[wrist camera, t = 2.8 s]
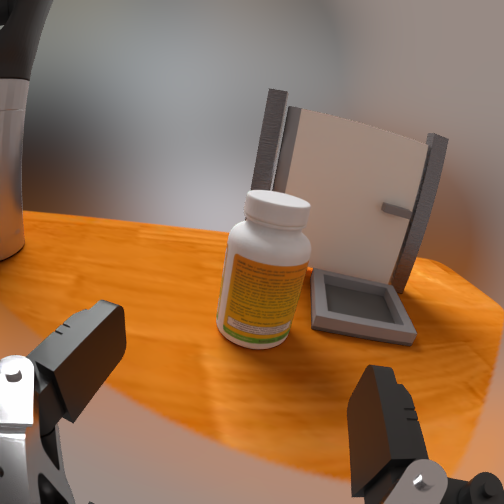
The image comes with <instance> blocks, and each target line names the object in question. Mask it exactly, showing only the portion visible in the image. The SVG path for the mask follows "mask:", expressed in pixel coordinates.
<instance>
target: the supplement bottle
mask: <svg viewBox="0 0 504 504" xmlns="http://www.w3.org/2000/svg"><path fill="white" fill-rule="evenodd" d="M310 209H311V205H310V204H309V203H308V202H307V201H305V200H303V199H300V198H298V197H295V196H292V195H288V194H284V193H280V192H274V191H267V190H251V191H249V192H248V193H247V196H246V202H245V206H244V215H245V216H246V217H247V219H246V221H243V222H240V223H238V224H236V225H235V226H234V227H233V228H232V229H231V231H230V233H229V237H228V242H227V248H226V255H225V261H224V268H223V275H222V281H221V288H220V295H219V301H218V308H217V318H216V322H217V327H218V329H219V331H220V332H221V333H222V334H223V336H225V337H226V338H227V339H228V340H230V341H231V342H233V343H235V344H237V345H240V346H243V347H246V348H251V349H268V348H272V347H275V346H277V345H279V344H281V343H282V342H283V341H284V340H285V339H286V338H287V336H288V333H289V330H290V327H291V324H292V320H293V317H294V313H295V310H296V306H297V303H298V299H299V296H300V292H301V288H302V285H303V281H304V278H305V274H306V270H307V267H308V263H309V259H310V255H311V244H310V241H309V239H308V238H307V237H306V236H305V235H304V234H303V233H302V232H301V231H302V229H304V228H305V227H306V226H307V222H308V218H309V213H310Z"/></svg>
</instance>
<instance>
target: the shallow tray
mask: <svg viewBox="0 0 504 504" xmlns="http://www.w3.org/2000/svg"><path fill="white" fill-rule="evenodd" d="M310 283H311V328H312V329H315V330H320V331H325V332H331V333H336V334H341V335H347V336H352V337H358V338H363V339H369V340H375V341H381V342H387V343H394V344H400V345H407V346H411V345H412V343H413V341H414V339H415V337H416V335H417V332H416V330H415V328H414V326H413V324H412V322H411V320H410V318H409V316H408V314H407V312H406V310H405V308H404V306H403V304H402V302H401V300H400V298H399V297H398V295H397V293H396V291H395V289H394V287H393V285H388V284H384V283H379V282H375V281H370V280H366V279H361V278H357V277H352V276H348V275H343V274H339V273H334V272H330V271H325V270H321V269H316V268H313V272H312V275H311V279H310Z"/></svg>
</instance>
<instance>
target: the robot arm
mask: <svg viewBox="0 0 504 504" xmlns="http://www.w3.org/2000/svg"><path fill="white" fill-rule="evenodd" d="M52 2H53V0H0V26H1V25H4V27H3V28H2V29H1V30H0V260H3V259H6V258H8V257H10V256H12V255H13V254H15V253H16V252H18V251H19V250H20V249H21V248H22V247H23V245H24V242H25V238H24V228H23V214H22V174H21V173H22V143H23V128H24V118H25V107H26V99H27V93H28V86H29V81H30V75H31V70H32V65H33V62H34V59H35V55H36V52H37V48H38V44H39V40H40V36H41V33H42V30H43V27H44V24H45V21H46V18H47V15H48V13H49V10H50V7H51V5H52ZM125 350H126V331H125V317H124V309H123V307H122V306H120V305H117V304H114V303H111V302H108V301H105V300H100V301H98V302H97V303H96V304H95V305H94V306H93V307H92V308H90V309H89V310H87V309H85V310H82V311H80V312H78V313H75V314H73V315H72V316H71V317H69V318H68V319H67V320H66V321H65V322H64V323H63V325H60V326H59V327H58V328H57V329H56V330H55V332H53V333H51V334H50V335H49V336H48V337H47V338H46V339H45V340H44V341H43V342H42V343H40V344H39V345H38V346H37V347H36V348H35V349H34V350H33V351H32V352H31V353H30V354H29V355H28V356H26V357H23V356H19V355H12V356H8V357H5V358H3V359H1V360H0V504H75V500H74V497H73V494H72V491H71V488H70V486H69V484H68V482H67V479H66V476H65V471H64V465H63V458H62V451H61V444H60V435H59V427H58V424H57V423H58V421H59V420H60V419H61V418H62V417H63V418H65V419H67V420H68V421H70V422H72V423H74V422H75V420H76V419H77V418H78V416H79V415H80V414H81V412H82V411H83V410H84V408H85V407H86V405H87V404H88V403H89V401H90V400H91V399H92V397H93V396H94V395H95V393H96V392H97V391H98V389H99V388H100V387H101V385H102V384H103V383H104V381H105V380H106V379H107V377H108V376H109V375H110V373H111V372H112V371H113V369H114V368H115V367H116V366H117V364H118V363H119V362H120V360H121V359H122V357H123V355H124V353H125ZM417 420H418V417H417V413H416V411H415V407H414V403H413V400H412V397H411V395H410V394H409V392H408V391H407V390H406V388H405V387H404V386H403V385H402V384H397V382H396V378H395V375H394V372H393V369H392V368H390V367H383V366H375V365H368V366H367V367H366V369H365V371H364V373H363V375H362V377H361V379H360V380H359V382H358V384H357V386H356V388H355V390H354V392H353V393H352V395H351V397H350V400H349V403H348V407H347V421H348V434H349V448H350V466H351V491H352V497H364V500H365V504H504V490H503V486H502V484H501V482H500V480H499V479H498V478H497V477H496V476H495V475H493V474H492V473H489V472H482V473H480V474H478V475H476V476H475V477H474V478H473V479H471V480H470V481H469V482H468V481H463V480H457V479H452V478H448V477H447V475H446V473H445V471H444V469H443V468H442V467H441V466H440V465H439V464H437V463H436V462H434V461H431V460H429V458H428V454H427V450H426V446H425V442H424V438H423V435H422V431H421V427H420V424H419V421H417ZM88 504H94V503H92V502H89V503H88Z"/></svg>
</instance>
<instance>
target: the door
mask: <svg viewBox="0 0 504 504" xmlns="http://www.w3.org/2000/svg"><path fill="white" fill-rule="evenodd" d="M427 150H428V145H427V144H424V143H422V142H419V141H416V140H413V139H410V138H408V137H405V136H402V135H399V134H396V133H393V132H389V131H386V130H383V129H380V128H377V127H373V126H370V125H367V124H363V123H359V122H356V121H352V120H348V119H345V118H341V117H337V116H332V115H328V114H324V113H320V112H315V111H311V110H306V109H302V108H297V107H292V106H289V107H288V112H287V117H286V122H285V128H284V133H283V138H282V144H281V149H280V154H279V159H278V164H277V170H276V174H275V179H274V185H273V190H272V191H274V192H280V193H284V194H288V195H292V196H295V197H298V198H300V199H303V200H305V201H307V202H308V203H309V204H310V205H311V209H310V213H309V218H308V222H307V226H306V227H305V228H304V229H302V231H301V232H302V233H303V234H304V235H305V236H306V237H307V238H308V239H309V241H310V244H311V255H310V259H309V263H308V267H311V268H316V269H321V270H325V271H330V272H334V273H339V274H343V275H348V276H352V277H357V278H361V279H366V280H370V281H375V282H379V283H384V284H388V283H389V280H390V277H391V275H392V272H393V269H394V266H395V263H396V261H397V258H398V255H399V252H400V249H401V246H402V243H403V240H404V237H405V233H406V230H407V227H408V224H409V220H410V218H411V215H412V210H413V207H414V203H415V199H416V196H417V192H418V188H419V184H420V180H421V176H422V172H423V168H424V163H425V159H426V154H427Z"/></svg>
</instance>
